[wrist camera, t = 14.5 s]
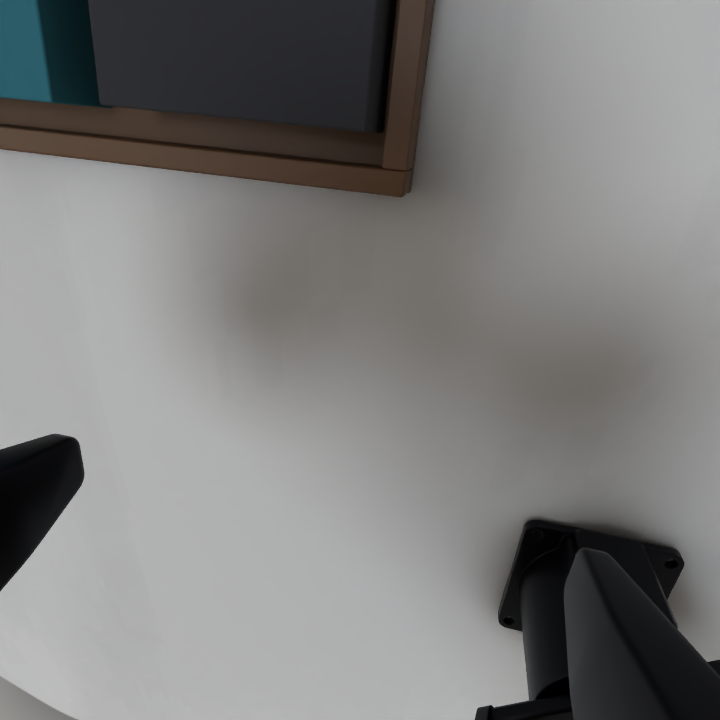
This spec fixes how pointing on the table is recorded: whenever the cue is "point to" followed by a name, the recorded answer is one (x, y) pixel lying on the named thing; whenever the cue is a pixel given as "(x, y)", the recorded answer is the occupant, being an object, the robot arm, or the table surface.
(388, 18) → the charcoal pad
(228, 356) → the table surface
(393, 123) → the backing tray
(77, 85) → the teal pad
